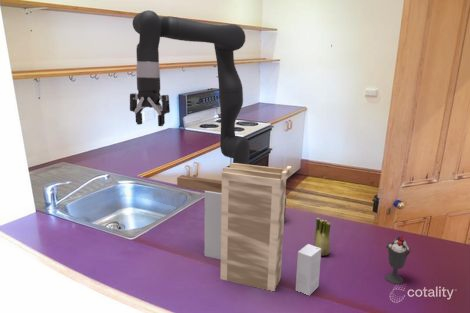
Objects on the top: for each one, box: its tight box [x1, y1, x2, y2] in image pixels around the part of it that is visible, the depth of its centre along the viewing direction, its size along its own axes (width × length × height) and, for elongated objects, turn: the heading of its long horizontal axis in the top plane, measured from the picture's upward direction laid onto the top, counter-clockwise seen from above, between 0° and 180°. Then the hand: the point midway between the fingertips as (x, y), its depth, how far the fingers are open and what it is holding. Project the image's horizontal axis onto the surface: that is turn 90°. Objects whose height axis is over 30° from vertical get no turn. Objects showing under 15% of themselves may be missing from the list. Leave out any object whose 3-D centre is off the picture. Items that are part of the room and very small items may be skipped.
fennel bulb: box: [314, 217, 332, 257], centre depth 117 cm, size 6×5×12 cm
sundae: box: [384, 234, 412, 285], centre depth 102 cm, size 7×7×15 cm
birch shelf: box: [220, 162, 293, 292], centre depth 98 cm, size 7×17×34 cm, turn 69°
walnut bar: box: [176, 174, 222, 193], centre depth 111 cm, size 3×26×3 cm, turn 69°
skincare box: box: [295, 243, 322, 296], centre depth 97 cm, size 6×4×12 cm
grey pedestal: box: [204, 190, 222, 261], centre depth 113 cm, size 5×8×22 cm, turn 69°
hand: (150, 125), depth 120 cm, fingers open, 8 cm apart
